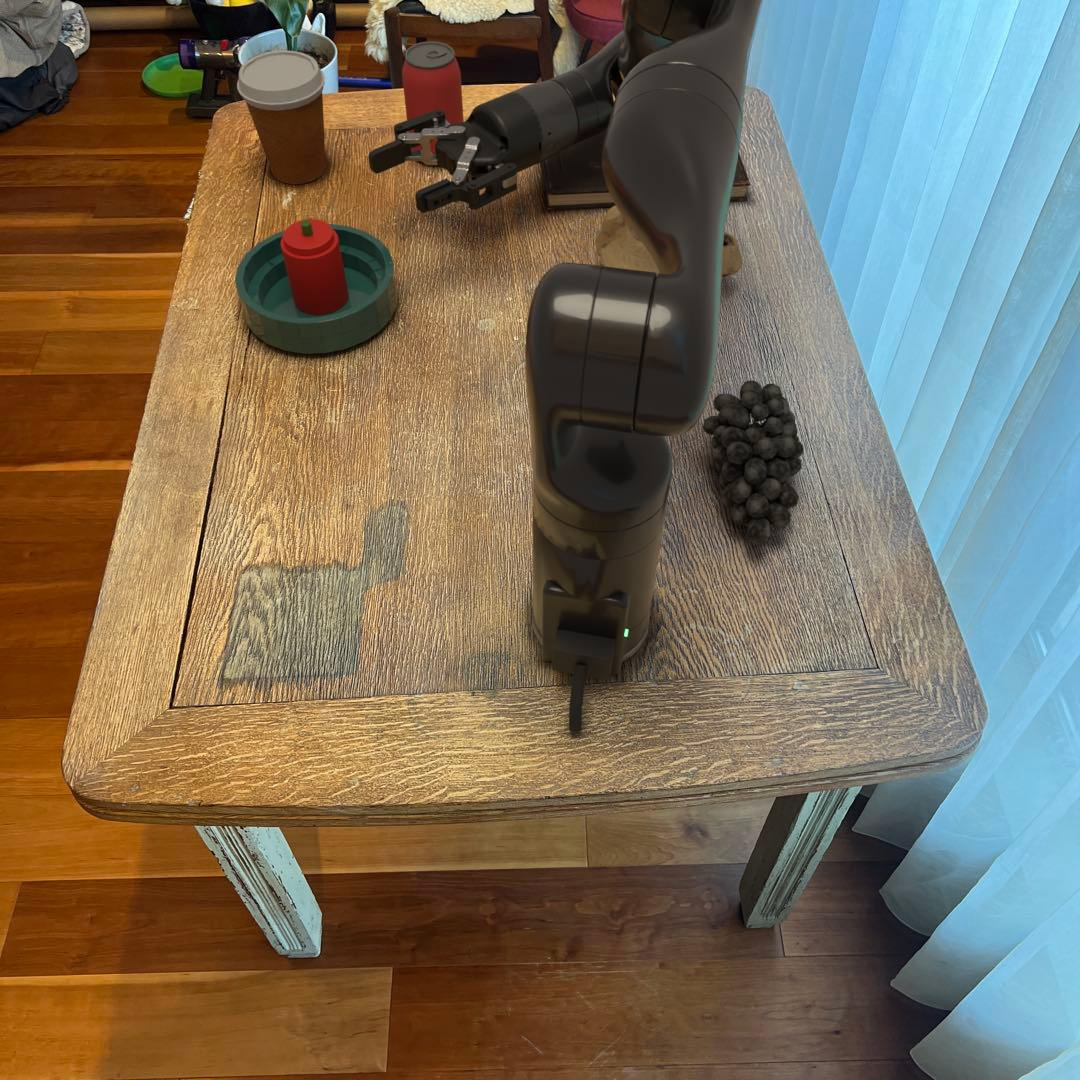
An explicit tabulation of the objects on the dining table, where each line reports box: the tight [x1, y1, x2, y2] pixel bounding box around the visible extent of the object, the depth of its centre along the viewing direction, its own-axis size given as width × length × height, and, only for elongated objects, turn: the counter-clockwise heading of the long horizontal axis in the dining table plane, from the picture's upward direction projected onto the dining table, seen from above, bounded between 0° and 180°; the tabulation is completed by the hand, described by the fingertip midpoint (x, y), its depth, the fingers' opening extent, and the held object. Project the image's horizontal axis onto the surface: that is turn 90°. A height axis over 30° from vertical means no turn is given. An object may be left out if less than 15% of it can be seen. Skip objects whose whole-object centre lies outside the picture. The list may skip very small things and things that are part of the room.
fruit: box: [702, 380, 805, 545], centre depth 87 cm, size 9×8×15 cm
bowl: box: [234, 223, 399, 355], centre depth 104 cm, size 16×16×4 cm
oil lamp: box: [595, 206, 744, 279], centre depth 105 cm, size 11×15×8 cm
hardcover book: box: [539, 129, 751, 211], centre depth 120 cm, size 16×23×2 cm
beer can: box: [401, 40, 465, 154], centre depth 118 cm, size 7×7×12 cm
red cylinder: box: [281, 218, 349, 315], centre depth 102 cm, size 6×6×9 cm
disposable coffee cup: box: [236, 50, 327, 185], centre depth 116 cm, size 10×10×12 cm
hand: (394, 183), depth 101 cm, fingers open, 8 cm apart
